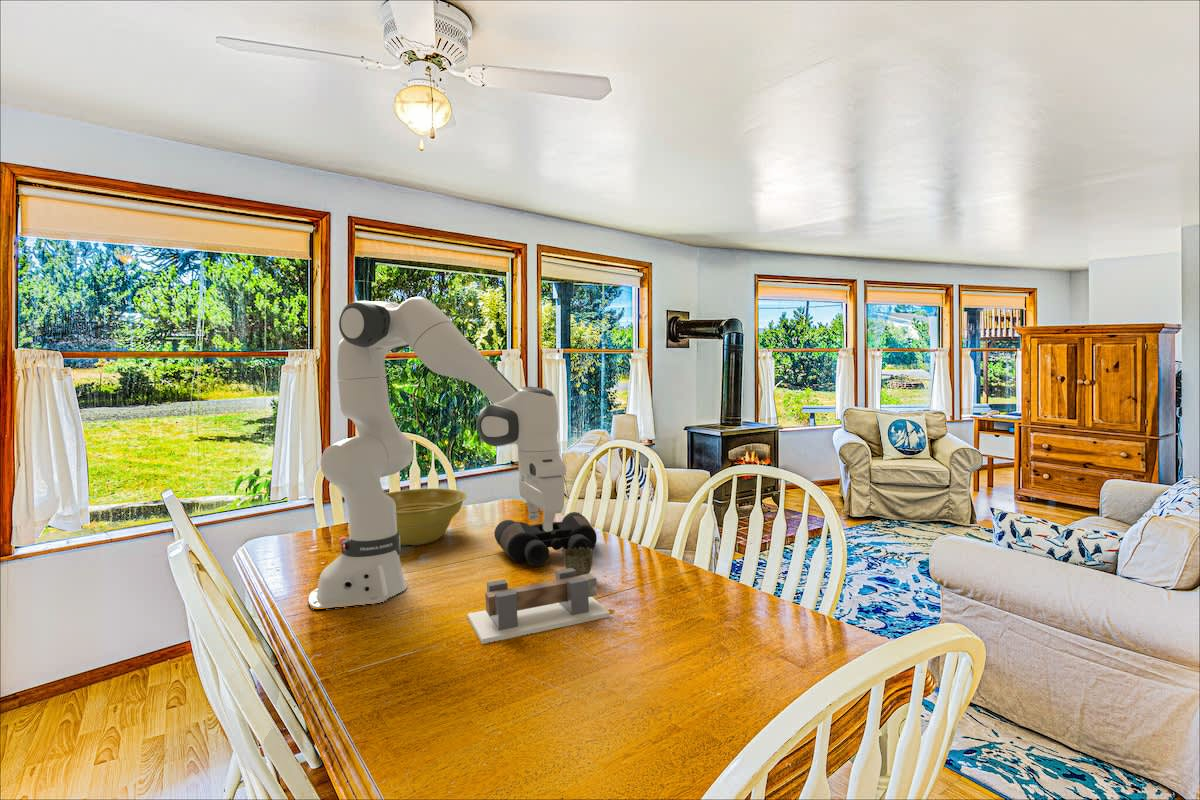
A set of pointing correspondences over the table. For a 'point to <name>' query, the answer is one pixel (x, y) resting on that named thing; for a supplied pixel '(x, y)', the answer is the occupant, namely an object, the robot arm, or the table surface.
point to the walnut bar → (541, 593)
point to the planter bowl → (425, 513)
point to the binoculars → (544, 538)
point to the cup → (578, 560)
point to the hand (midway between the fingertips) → (540, 525)
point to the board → (536, 611)
